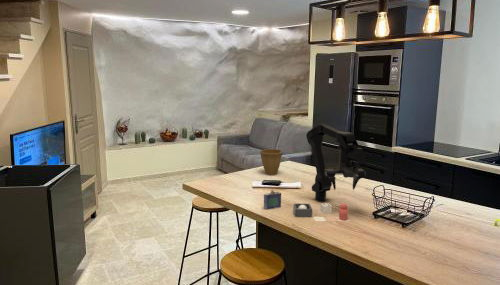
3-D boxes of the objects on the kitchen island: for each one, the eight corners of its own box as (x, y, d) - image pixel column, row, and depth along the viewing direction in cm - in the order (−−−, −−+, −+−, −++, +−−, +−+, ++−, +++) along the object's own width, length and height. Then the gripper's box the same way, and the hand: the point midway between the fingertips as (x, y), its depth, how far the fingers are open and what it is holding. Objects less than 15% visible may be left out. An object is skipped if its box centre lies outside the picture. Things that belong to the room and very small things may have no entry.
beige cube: (320, 211, 184) (321, 203, 183) (328, 210, 184) (328, 202, 184) (323, 214, 180) (324, 206, 179) (331, 213, 180) (331, 205, 180)
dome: (295, 211, 182) (296, 203, 181) (307, 211, 182) (307, 203, 182) (297, 216, 177) (297, 207, 176) (309, 215, 177) (309, 207, 176)
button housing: (293, 211, 184) (293, 203, 183) (309, 211, 184) (309, 203, 183) (295, 217, 176) (295, 209, 175) (312, 217, 176) (312, 209, 175)
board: (290, 213, 184) (291, 210, 184) (343, 213, 185) (343, 210, 184) (294, 224, 170) (294, 221, 170) (351, 224, 171) (351, 221, 171)
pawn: (337, 217, 175) (338, 202, 174) (346, 217, 175) (346, 202, 174) (339, 220, 171) (340, 204, 170) (348, 220, 171) (349, 204, 170)
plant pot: (271, 169, 266) (271, 148, 263) (286, 174, 254) (286, 151, 251) (255, 173, 256) (255, 150, 253) (270, 178, 245) (270, 154, 242)
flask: (264, 212, 186) (264, 191, 184) (262, 210, 188) (262, 189, 187) (281, 210, 189) (282, 189, 187) (279, 208, 191) (279, 188, 189)
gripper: (330, 162, 172) (328, 195, 175) (370, 162, 172) (368, 194, 175) (325, 157, 183) (323, 187, 186) (362, 157, 183) (361, 187, 186)
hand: (344, 189), depth 183 cm, fingers open, 9 cm apart
